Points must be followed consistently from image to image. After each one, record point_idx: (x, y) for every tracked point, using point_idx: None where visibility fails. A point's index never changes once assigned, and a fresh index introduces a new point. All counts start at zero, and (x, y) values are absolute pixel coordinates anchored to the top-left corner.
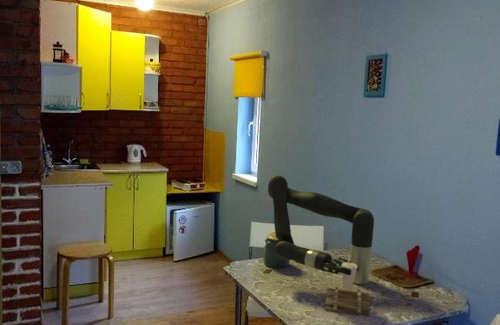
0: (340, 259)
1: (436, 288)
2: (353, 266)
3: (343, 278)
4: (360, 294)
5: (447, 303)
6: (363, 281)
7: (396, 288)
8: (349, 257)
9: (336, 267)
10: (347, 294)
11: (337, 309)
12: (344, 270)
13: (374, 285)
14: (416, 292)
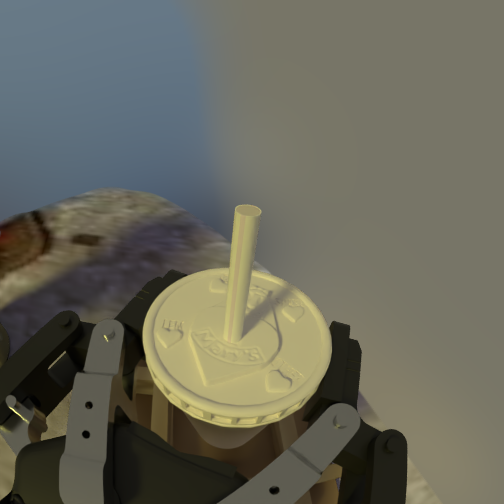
0: (14, 406)
1: (62, 209)
2: (269, 293)
3: (262, 429)
4: None
5: (136, 204)
6: (4, 337)
7: (47, 267)
8: (250, 253)
9: (398, 448)
10: (170, 432)
11: (331, 463)
12: (357, 378)
13: (19, 314)
14: (76, 236)
